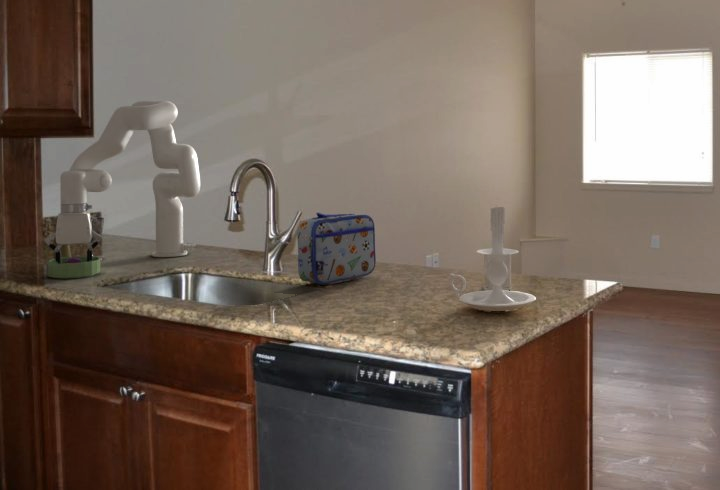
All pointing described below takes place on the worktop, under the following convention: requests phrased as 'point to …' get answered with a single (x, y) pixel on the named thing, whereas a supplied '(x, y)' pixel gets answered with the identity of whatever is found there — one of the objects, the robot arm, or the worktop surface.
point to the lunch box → (336, 248)
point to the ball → (74, 260)
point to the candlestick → (495, 275)
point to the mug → (486, 265)
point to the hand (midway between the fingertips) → (74, 262)
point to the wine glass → (97, 228)
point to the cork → (63, 250)
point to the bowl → (73, 268)
